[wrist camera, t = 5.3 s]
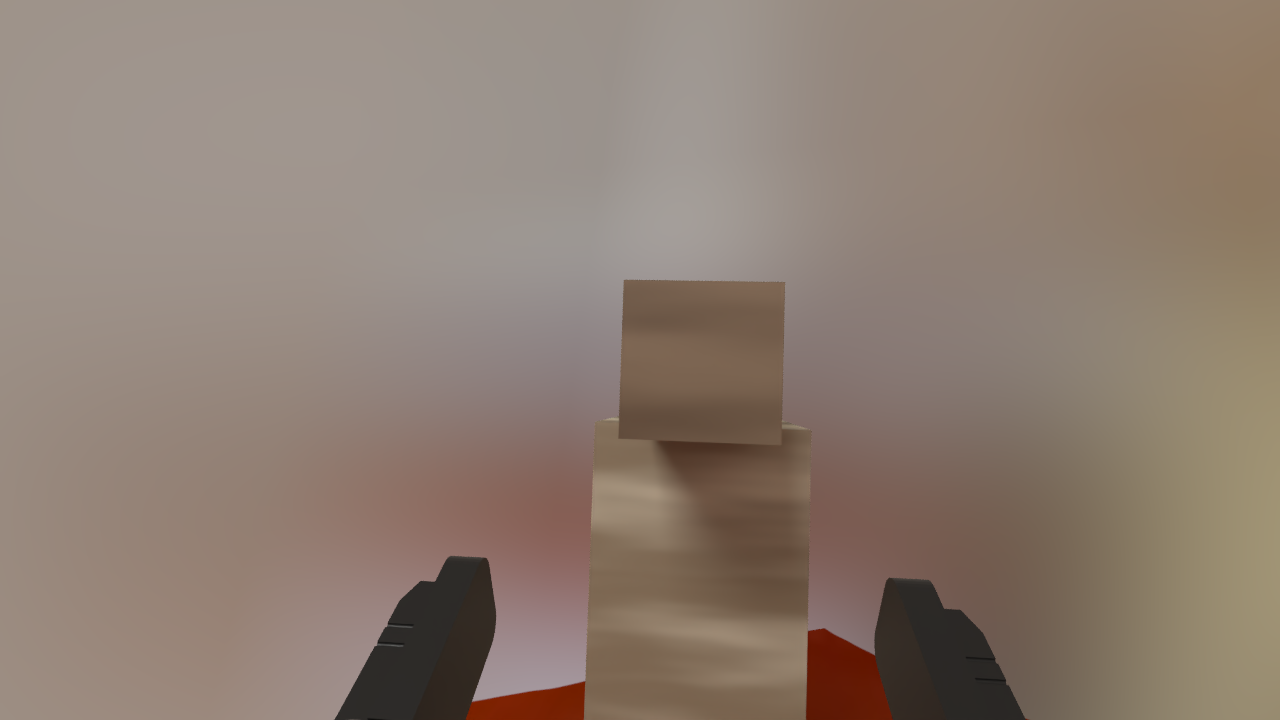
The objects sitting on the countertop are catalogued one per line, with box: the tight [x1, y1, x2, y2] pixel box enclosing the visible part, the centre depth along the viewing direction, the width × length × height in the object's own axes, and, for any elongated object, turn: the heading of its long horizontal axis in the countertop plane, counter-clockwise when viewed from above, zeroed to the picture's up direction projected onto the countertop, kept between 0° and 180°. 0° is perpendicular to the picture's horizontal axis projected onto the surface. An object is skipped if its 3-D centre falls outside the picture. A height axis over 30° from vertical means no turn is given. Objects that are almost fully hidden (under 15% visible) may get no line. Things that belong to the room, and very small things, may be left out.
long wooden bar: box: [618, 280, 785, 445], centre depth 26 cm, size 21×4×4 cm, turn 174°
